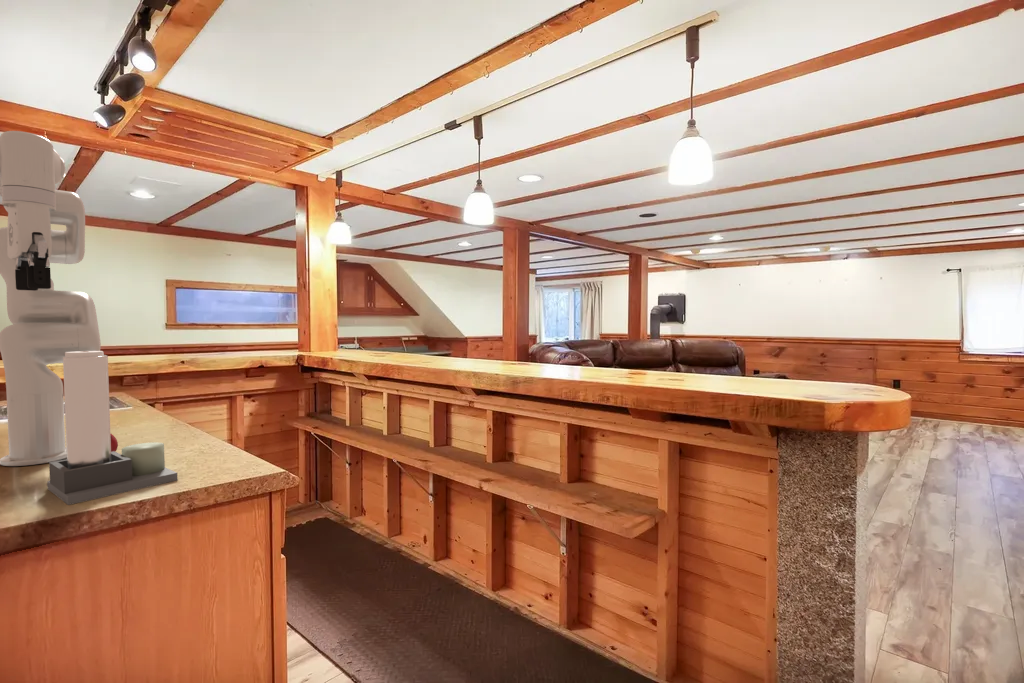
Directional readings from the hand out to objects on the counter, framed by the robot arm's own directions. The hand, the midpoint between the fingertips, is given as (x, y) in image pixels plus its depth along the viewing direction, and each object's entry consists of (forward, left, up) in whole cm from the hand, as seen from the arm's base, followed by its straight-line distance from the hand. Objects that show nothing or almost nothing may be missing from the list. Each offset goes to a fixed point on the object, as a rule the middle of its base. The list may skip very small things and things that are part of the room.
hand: (33, 289), depth 98 cm
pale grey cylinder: (+12, +5, -37) cm, 39 cm away
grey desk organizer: (+12, +9, -38) cm, 41 cm away
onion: (-9, +12, -38) cm, 41 cm away
